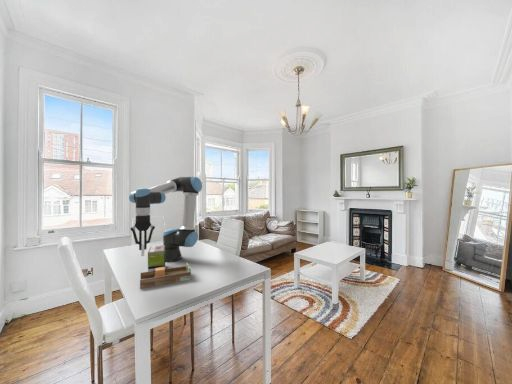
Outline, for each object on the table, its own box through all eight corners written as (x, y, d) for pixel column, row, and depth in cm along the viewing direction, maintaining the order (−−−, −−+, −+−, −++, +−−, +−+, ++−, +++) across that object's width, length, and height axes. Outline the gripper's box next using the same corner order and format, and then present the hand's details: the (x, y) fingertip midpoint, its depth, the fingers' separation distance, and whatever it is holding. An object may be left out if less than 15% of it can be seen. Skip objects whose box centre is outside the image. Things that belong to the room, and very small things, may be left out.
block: (155, 274, 133) (155, 268, 132) (164, 273, 135) (164, 266, 135) (155, 277, 128) (155, 270, 128) (164, 276, 130) (164, 269, 130)
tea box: (150, 267, 152) (149, 246, 152) (165, 265, 156) (165, 244, 156) (147, 275, 138) (147, 251, 138) (164, 272, 142) (164, 250, 142)
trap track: (140, 280, 130) (140, 269, 130) (187, 272, 142) (187, 262, 142) (140, 288, 120) (139, 276, 120) (190, 279, 132) (190, 268, 132)
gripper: (129, 216, 121) (129, 258, 121) (155, 215, 126) (155, 255, 127) (130, 214, 127) (130, 255, 127) (155, 213, 133) (155, 252, 133)
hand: (142, 255), depth 127 cm, fingers closed
